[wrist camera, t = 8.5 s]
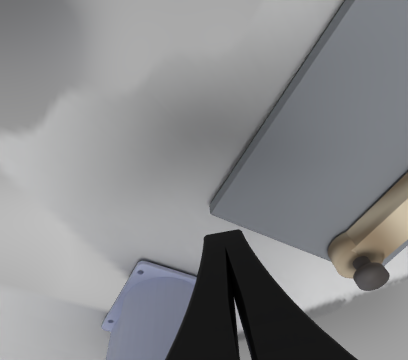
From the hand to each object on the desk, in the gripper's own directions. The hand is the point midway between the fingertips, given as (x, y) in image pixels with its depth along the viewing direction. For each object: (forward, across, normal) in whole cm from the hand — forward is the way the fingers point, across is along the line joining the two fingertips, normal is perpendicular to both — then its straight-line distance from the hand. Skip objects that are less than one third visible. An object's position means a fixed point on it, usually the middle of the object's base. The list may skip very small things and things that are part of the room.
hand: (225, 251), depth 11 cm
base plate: (+9, -11, +3) cm, 15 cm away
